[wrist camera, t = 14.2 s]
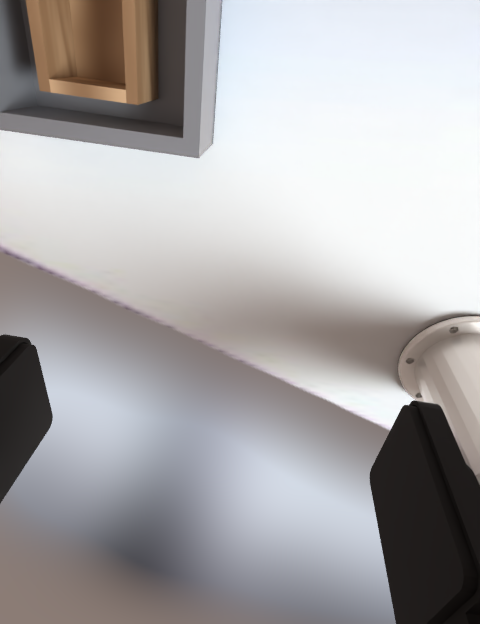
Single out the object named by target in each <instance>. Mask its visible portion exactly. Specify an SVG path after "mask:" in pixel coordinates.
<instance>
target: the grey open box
mask: <svg viewBox="0 0 480 624" xmlns="http://www.w3.org/2000/svg"><path fill="white" fill-rule="evenodd" d="M221 12H222V0H158V98H159V99H156V100H153V101H149V102H146V103H142V104H139V105H135V104H128V103H121V102H114V101H107V100H100V99H93V98H86V97H79V96H72V95H65V94H58V93H51V92H45V91H40V89H39V83H38V76H37V70H36V63H35V57H34V51H33V44H32V38H31V31H30V25H29V18H28V12H27V6H26V0H0V130H5V131H12V132H19V133H26V134H33V135H40V136H47V137H54V138H61V139H68V140H75V141H82V142H89V143H96V144H103V145H110V146H117V147H124V148H131V149H138V150H145V151H152V152H159V153H166V154H173V155H180V156H187V157H194V158H199V157H200V156H201V155H202V154H203V153H204V152H205V151H206V150H207V149H208V148H209V147H210V146H211V145H212V144H213V133H214V118H215V103H216V88H217V73H218V58H219V42H220V27H221Z"/></svg>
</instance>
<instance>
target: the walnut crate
mask: <svg viewBox="0 0 480 624" xmlns="http://www.w3.org/2000/svg"><path fill="white" fill-rule="evenodd" d="M26 6H27V12H28V18H29V25H30V31H31V38H32V44H33V51H34V57H35V63H36V70H37V76H38V83H39V89H40V91H45V92H51V93H58V94H65V95H72V96H79V97H86V98H93V99H100V100H107V101H114V102H121V103H128V104H135V105H139V104H142V103H146V102H149V101H153V100H156V99H159V98H158V0H26Z"/></svg>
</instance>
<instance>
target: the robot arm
mask: <svg viewBox="0 0 480 624" xmlns="http://www.w3.org/2000/svg"><path fill="white" fill-rule="evenodd" d="M398 374H399V377H400V381H401V383H402V385H403V388H404V389H405V390H406V392H407V393H408V394H409V395H410V396H411V397H412V398H414V399H415V400H417V401H412V402H411V403H410V405H404V406H403V407H402V409H401V411H400V413H399V415H398V417H397V419H396V421H395V423H394V425H393V427H392V429H391V431H390V433H389V435H388V436H387V438H386V440H385V442H384V444H383V447H382V448H381V450H380V452H379V454H378V456H377V458H376V460H375V463H374V464H373V466H372V468H371V472H370V485H371V490H372V495H373V501H374V506H375V512H376V517H377V523H378V528H379V534H380V539H381V544H382V550H383V555H384V560H385V565H386V571H387V577H388V582H389V587H390V593H391V598H392V604H393V608H394V614H395V620H396V624H480V317H479V316H465V317H458V318H452V319H449V320H445V321H442V322H439V323H437V324H434V325H432V326H430V327H428V328H427V329H425V330H423V331H422V332H420V333H419V334H418V335H416V336H415V337H414V338H413V339H412V340H411V341H410V342H409V343H408V344H407V346H406V347H405V348H404V350H403V352H402V354H401V356H400V359H399V363H398ZM51 423H52V411H51V407H50V403H49V399H48V395H47V390H46V386H45V382H44V378H43V375H42V370H41V366H40V362H39V357H38V354H37V349H36V347H35V346H34V345H31V342H30V340H29V339H27V338H23V337H17V336H10V335H1V336H0V503H1V501H2V499H3V498H4V497H5V495H6V494H7V492H8V491H9V489H10V488H11V486H12V485H13V483H14V482H15V480H16V479H17V477H18V476H19V474H20V473H21V471H22V469H23V468H24V466H25V464H26V463H27V462H28V460H29V459H30V457H31V456H32V454H33V453H34V451H35V450H36V448H37V447H38V445H39V443H40V442H41V441H42V439H43V437H44V436H45V434H46V433H47V431H48V430H49V428H50V426H51Z"/></svg>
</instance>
